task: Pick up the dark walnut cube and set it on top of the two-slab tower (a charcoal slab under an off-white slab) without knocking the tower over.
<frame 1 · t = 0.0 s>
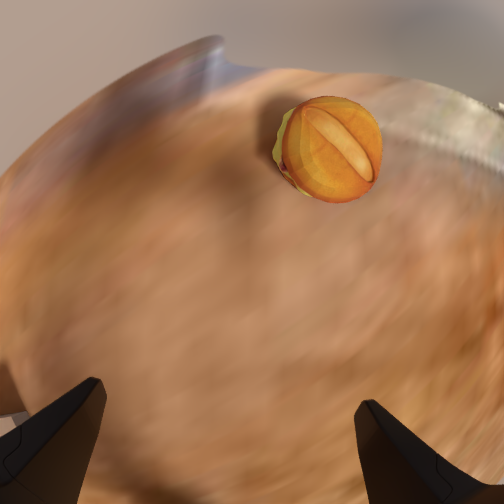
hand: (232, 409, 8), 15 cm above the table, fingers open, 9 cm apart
cheeseburger: (318, 167, 27), on the table
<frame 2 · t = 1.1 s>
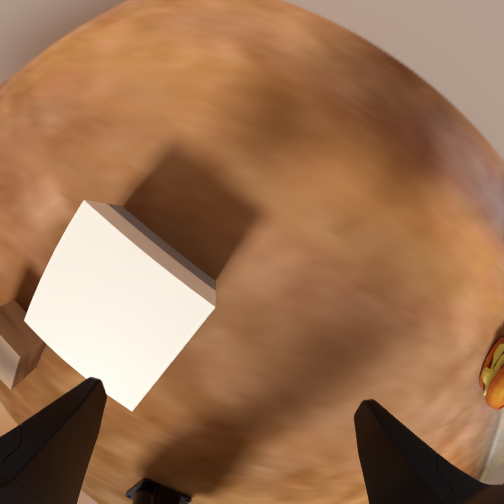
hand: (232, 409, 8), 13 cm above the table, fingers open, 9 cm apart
tower top slab: (121, 301, 17), point 3 cm above the table, touching tower base slab
cheeseburger: (491, 364, 27), on the table
tower base slab: (135, 288, 20), on the table, touching tower top slab
walnut block: (24, 335, 19), on the table
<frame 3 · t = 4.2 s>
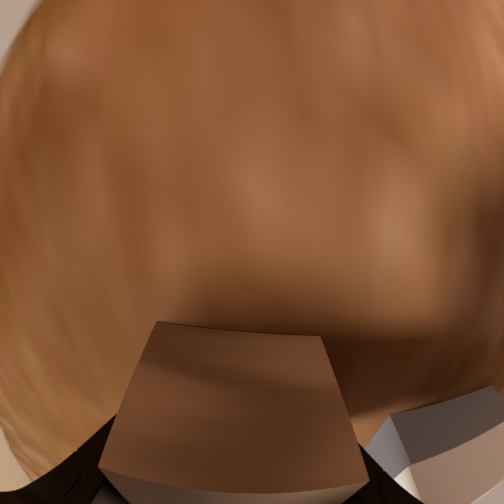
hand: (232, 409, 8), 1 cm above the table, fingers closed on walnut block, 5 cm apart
tower top slab: (429, 479, 9), point 3 cm above the table
tower base slab: (413, 439, 12), on the table
walnut block: (232, 386, 9), on the table, touching gripper
when the fingers open (9 cm above the table, at t = 8.1 s): walnut block drops 2 cm, resting on tower top slab.
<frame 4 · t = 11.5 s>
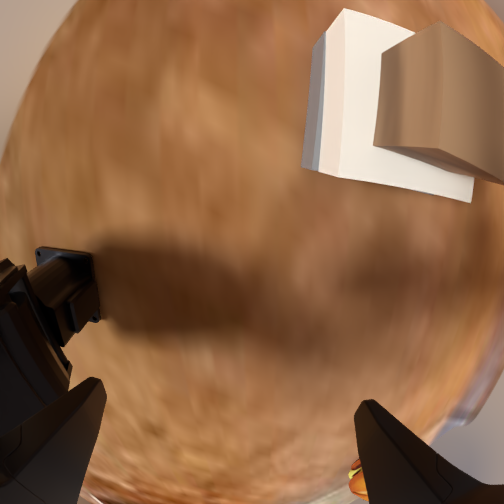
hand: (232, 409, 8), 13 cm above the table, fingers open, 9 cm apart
tower top slab: (392, 112, 14), point 3 cm above the table, touching tower base slab, walnut block
cheeseburger: (371, 457, 34), on the table
tower base slab: (366, 117, 17), on the table, touching tower top slab
walnut block: (419, 112, 10), point 7 cm above the table, touching tower top slab
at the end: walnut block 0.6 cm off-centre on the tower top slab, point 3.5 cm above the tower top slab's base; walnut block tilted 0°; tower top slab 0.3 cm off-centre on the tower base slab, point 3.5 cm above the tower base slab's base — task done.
